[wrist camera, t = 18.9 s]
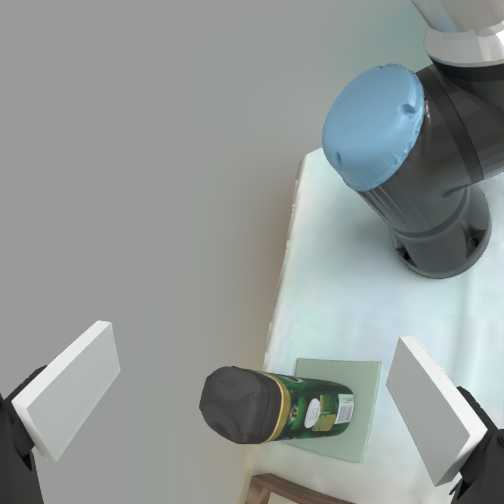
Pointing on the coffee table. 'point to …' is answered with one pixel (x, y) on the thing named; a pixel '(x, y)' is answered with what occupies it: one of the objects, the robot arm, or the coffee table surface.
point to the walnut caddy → (285, 491)
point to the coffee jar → (273, 406)
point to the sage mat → (365, 391)
